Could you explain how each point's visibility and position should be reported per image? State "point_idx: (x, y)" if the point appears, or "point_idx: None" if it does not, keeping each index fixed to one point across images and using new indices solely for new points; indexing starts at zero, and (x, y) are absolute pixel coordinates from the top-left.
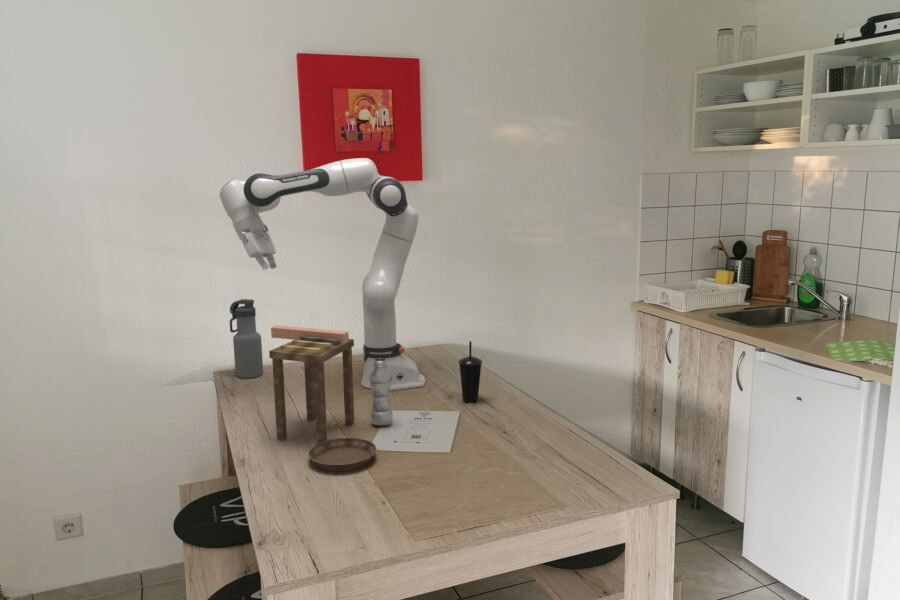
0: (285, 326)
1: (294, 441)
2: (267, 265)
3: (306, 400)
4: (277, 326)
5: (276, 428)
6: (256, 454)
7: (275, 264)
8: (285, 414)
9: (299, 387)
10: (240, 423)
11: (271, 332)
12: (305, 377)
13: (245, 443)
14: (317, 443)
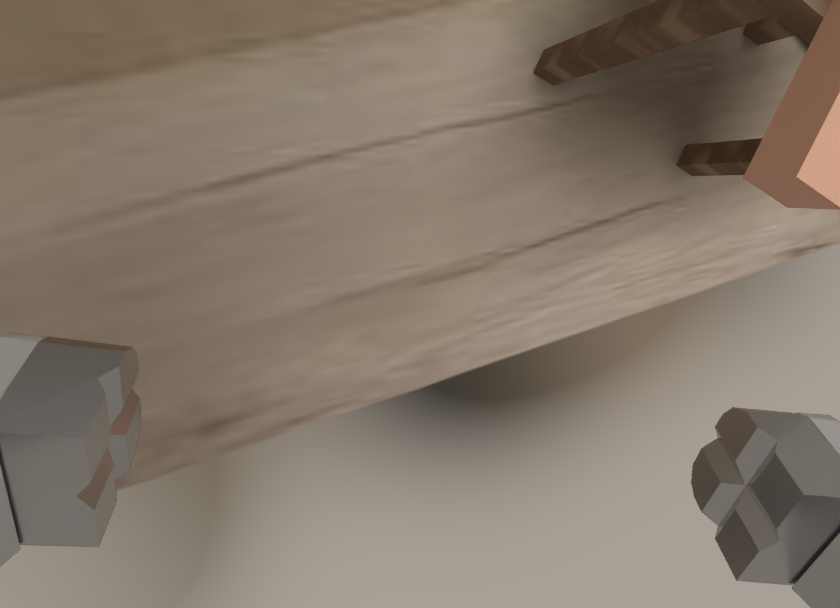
0: (838, 109)
1: (713, 119)
2: (829, 436)
3: (593, 70)
4: (823, 167)
5: (719, 174)
6: (772, 222)
7: (41, 374)
8: (747, 140)
9: (141, 137)
10: (542, 318)
11: (815, 206)
12: (653, 51)
13: (697, 268)
14: (764, 42)
